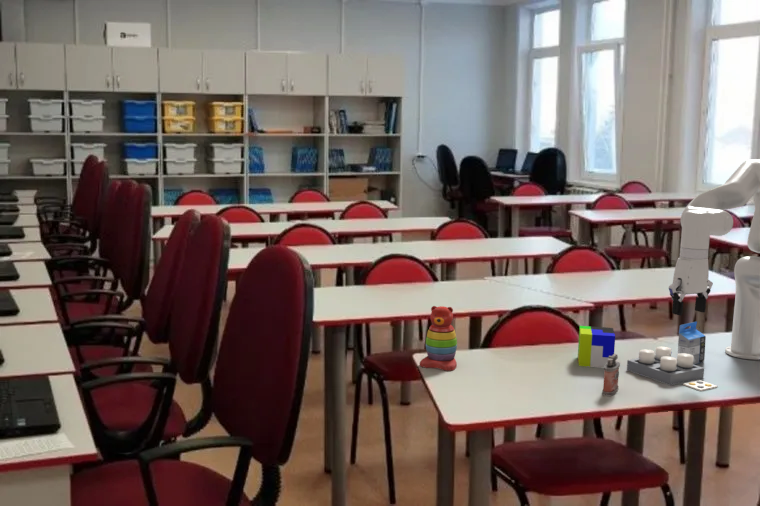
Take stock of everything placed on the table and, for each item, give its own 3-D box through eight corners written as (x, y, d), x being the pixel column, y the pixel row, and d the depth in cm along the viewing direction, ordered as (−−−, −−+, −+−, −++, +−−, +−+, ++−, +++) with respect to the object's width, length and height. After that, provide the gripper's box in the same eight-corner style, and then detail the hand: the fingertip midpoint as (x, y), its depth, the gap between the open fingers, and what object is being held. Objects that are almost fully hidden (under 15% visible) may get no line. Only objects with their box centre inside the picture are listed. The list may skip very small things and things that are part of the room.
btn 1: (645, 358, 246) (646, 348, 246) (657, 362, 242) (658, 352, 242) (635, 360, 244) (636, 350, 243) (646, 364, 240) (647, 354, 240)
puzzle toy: (613, 368, 246) (615, 336, 245) (578, 366, 248) (580, 333, 247) (610, 359, 256) (612, 327, 255) (577, 356, 258) (579, 325, 256)
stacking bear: (417, 366, 245) (419, 308, 242) (428, 358, 254) (430, 301, 251) (452, 371, 241) (454, 312, 238) (462, 362, 250) (464, 305, 247)
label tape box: (687, 367, 249) (690, 327, 247) (675, 363, 252) (678, 324, 250) (704, 362, 254) (707, 323, 252) (692, 359, 258) (696, 320, 255)
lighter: (612, 396, 221) (614, 360, 220) (599, 394, 223) (601, 358, 221) (620, 388, 228) (623, 353, 226) (608, 386, 230) (610, 351, 228)
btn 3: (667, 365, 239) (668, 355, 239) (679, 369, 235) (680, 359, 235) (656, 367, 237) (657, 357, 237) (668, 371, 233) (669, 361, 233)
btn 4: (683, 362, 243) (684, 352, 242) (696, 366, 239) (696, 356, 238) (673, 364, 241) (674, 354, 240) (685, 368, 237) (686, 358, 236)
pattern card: (699, 381, 236) (699, 379, 236) (717, 387, 230) (717, 385, 230) (682, 384, 232) (683, 383, 232) (700, 391, 227) (700, 389, 227)
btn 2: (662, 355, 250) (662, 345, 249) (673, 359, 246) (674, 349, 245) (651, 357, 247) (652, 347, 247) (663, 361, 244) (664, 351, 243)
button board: (659, 363, 252) (660, 353, 252) (703, 378, 239) (704, 368, 238) (626, 369, 245) (627, 360, 245) (670, 385, 232) (670, 374, 231)
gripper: (703, 250, 242) (698, 307, 245) (662, 253, 233) (657, 312, 236) (725, 254, 236) (719, 313, 238) (683, 257, 227) (678, 318, 230)
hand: (688, 312), depth 237 cm, fingers open, 9 cm apart
